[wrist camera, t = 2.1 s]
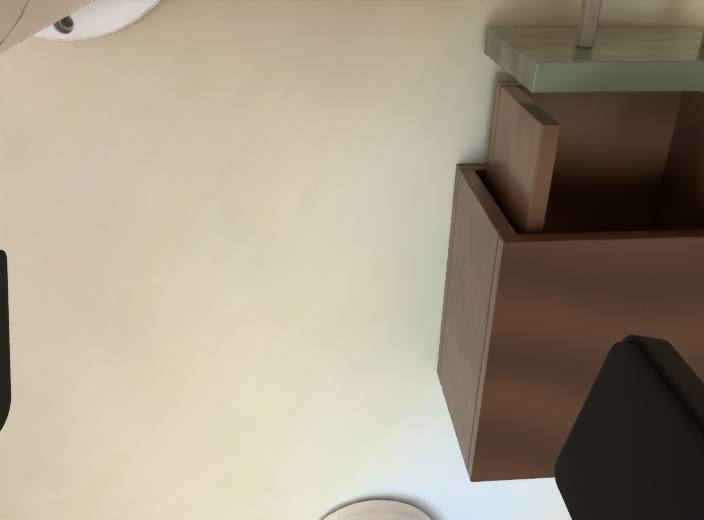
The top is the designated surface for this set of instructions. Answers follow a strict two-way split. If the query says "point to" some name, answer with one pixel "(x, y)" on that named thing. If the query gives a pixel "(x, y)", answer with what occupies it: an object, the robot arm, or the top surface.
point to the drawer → (598, 127)
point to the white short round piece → (378, 511)
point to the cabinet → (549, 324)
